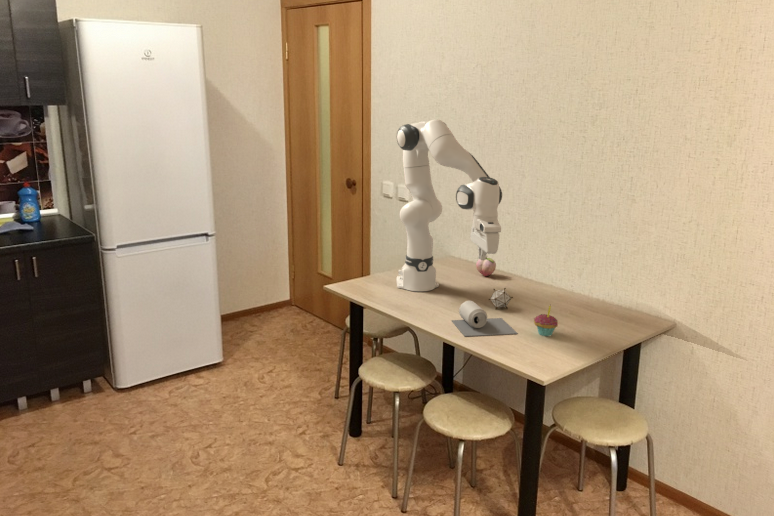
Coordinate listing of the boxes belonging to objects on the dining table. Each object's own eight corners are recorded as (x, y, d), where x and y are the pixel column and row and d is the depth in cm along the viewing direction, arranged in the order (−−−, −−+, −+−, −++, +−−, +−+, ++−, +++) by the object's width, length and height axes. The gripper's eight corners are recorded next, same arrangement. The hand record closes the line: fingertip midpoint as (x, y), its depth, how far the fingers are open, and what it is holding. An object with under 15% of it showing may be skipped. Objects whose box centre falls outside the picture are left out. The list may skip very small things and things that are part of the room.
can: (457, 302, 246) (469, 312, 235) (475, 298, 248) (488, 308, 237) (458, 320, 249) (470, 331, 237) (477, 316, 250) (489, 327, 239)
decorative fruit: (499, 276, 307) (500, 255, 304) (489, 279, 301) (491, 259, 298) (482, 272, 313) (483, 252, 310) (472, 275, 307) (473, 255, 304)
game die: (503, 318, 263) (512, 304, 255) (483, 309, 263) (492, 294, 256) (508, 302, 268) (517, 288, 261) (489, 293, 269) (498, 279, 261)
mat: (451, 321, 247) (451, 320, 247) (501, 318, 251) (501, 317, 251) (464, 336, 232) (464, 336, 232) (517, 334, 236) (517, 333, 236)
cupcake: (561, 337, 234) (564, 305, 231) (540, 339, 232) (543, 307, 229) (549, 328, 242) (552, 297, 239) (528, 330, 240) (531, 299, 237)
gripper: (467, 216, 246) (464, 252, 250) (486, 229, 227) (482, 267, 231) (483, 216, 248) (480, 251, 251) (503, 228, 228) (499, 266, 232)
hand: (481, 259), depth 241 cm, fingers closed
